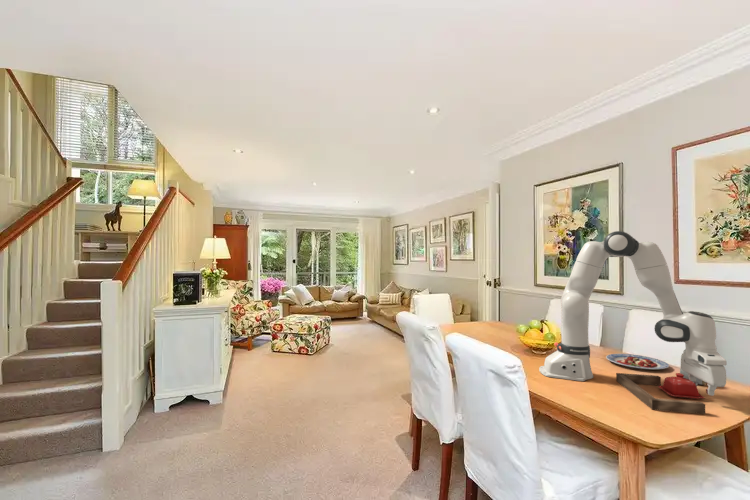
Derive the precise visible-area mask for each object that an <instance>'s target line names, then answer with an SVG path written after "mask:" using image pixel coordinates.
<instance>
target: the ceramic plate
mask: <svg viewBox="0 0 750 500" xmlns="http://www.w3.org/2000/svg"><path fill="white" fill-rule="evenodd" d="M605 359H606V360H608V361H610V362H612V363H615V364H617V365H621V366H622V367H625V366H626V368H629V369H630V368H631V369H635V370H636V369H637V370H642V369H643V370H645V371H653V370H665V369H668V368H669V367H670V364H669V363H668V362H666V361H664V360H661V359H658V358H654V357H650V356H645V355H640V354H632V353H630V354H629V353H609V354H607V355H606V356H605Z"/></svg>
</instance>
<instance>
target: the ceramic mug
mask: <svg viewBox="0 0 750 500" xmlns="http://www.w3.org/2000/svg"><path fill="white" fill-rule="evenodd" d="M679 367H680V368H679V373H681V374H683V375H684V377H683V378H686V379H689V377H688V373H687V372H685V371H683V370H682V369H681V365H679ZM695 378H696V381H697V382H698V384H697V385H701V386H704V385H706V382H704V381H702V380H701V379H699V378H697V377H695Z"/></svg>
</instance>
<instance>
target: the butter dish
mask: <svg viewBox="0 0 750 500" xmlns="http://www.w3.org/2000/svg"><path fill="white" fill-rule="evenodd" d="M683 377H684V375H683V374H681V373H680V372H676V373H675V376H666V377H664V379H663V385H657V387H658V388H659V389H661V391H664V392H665V393H666V394H667V395H669V396H670V397H671V396H672V397H674V398H682V399H692V400H697V399H701V400H702V399H705V396H703V395H702V394H701V393H700V392H699V390H698V389H699V388H698V386H696V384H695V383H694V382H692V381H691V380H689V379H686V378H683Z"/></svg>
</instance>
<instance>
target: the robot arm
mask: <svg viewBox="0 0 750 500" xmlns="http://www.w3.org/2000/svg"><path fill="white" fill-rule="evenodd" d="M623 257H627V258H629V259H630V261H631V262H632V264H633V268H634V271H635V274H636V277H637V279H638V280H639V283H640V284H641V285H642V286H643V287H644V288H646V289H647V290H649V291H650V292H652V293H653V295H654V296H655V297H656V299H657V302H658V304H659V307H660V310H661V312H662V317H663V318H662V319H660V320H658V321H656V323H655V324H654V329H653V330H654V333H655V335H656V336H657V337H658V338H659V339H660V340H661V341H664V342H667V343H685V349H684V350H683V353H681V356H680V366H681V369H682V370H683V371H685V372H687V373H688V377H689V380H691V381H692V382H694V383H695V384H696V386H697V387H698V385H699V384H698V382H697V381H696V378H695V377H697V378H699V379H701V380H702V381H704V382H706V383H707V386H708V387H707V388H706V389H705V392H706V394H707V395H709V396H712V397H713V396H715V392H716V389H717V388H719V387H720V388H724V387H725V386H726V385H727V369H726V367H725V366H727V360H726V359H725V358H724V357H723V356H721V354H720V353H719V352H718V351H717V345H716V339H717V330H716V329H717V327H716V323H715V319H714V317H712V316H711V315H710V314H707V313H704V312H700V311H693V310H690V311H687V312H683V310H682V308H681V306H680V304H679V301H678V298H677V296H676V293H675V291H674V288H673V282H672V277H671V274H670V273H671V272H670V268H669V266H668V263H667V261H666V257H665V256H664V254H663V252H662V250H661V248H660V247H659V245H658V244H656V243H654V242H650V241H645V242H639V241H638V240H637V239H636V238H634V237H633V236H632V235H631V234H630V233H628V232H625V231H622V230H616V231H612V232H609V234H607V235H606V236H605V238H604V240H603V241H595V240H591V241H586V242H585V243H584V244H583V246H582V247H581V250H580V251H579V252H578V255H577V256H576V259H575V260H576V261H575V262H574V264H573V267H572V269H571V272H570V276H569V278H568V280H567V282H566V285H565V287H564V290H563V292H562V295H561V297H560V309H561V311H560V314H561V315H560V317H561V319H560V321H561V323H560V325H561V326H560V327H561V328H560V329H561V334H560V335H561V341H560V342H559V343H558V342H554V344H553V345H554V346H555V348H556V349H557V350H556V351H554V352H553V353H551V354H549V355H548V356H546V357H545V359H544V365H541V366H539V368H538V369H539V371H538V372H539V373H540V374H541V375H543V376H545V377H547V378H554V379H555V378H556V379H563V380H569V381H570V380H571V381H578V382H585V381H588V380H591V379H593V378H594V375H593V371H592V367H591V362H590V358H591V347H590V345H589V322H590V321H589V319H590V318H589V317H590V306H589V305H590V304H589V300H590V297H591V295H592V293H593V292H594V289H595V287H596V285H597V283H598V280H599V278H600V275H601V273H602V270H603V268H604V265H605V263H606V260H607V259H608V258H623Z"/></svg>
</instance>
